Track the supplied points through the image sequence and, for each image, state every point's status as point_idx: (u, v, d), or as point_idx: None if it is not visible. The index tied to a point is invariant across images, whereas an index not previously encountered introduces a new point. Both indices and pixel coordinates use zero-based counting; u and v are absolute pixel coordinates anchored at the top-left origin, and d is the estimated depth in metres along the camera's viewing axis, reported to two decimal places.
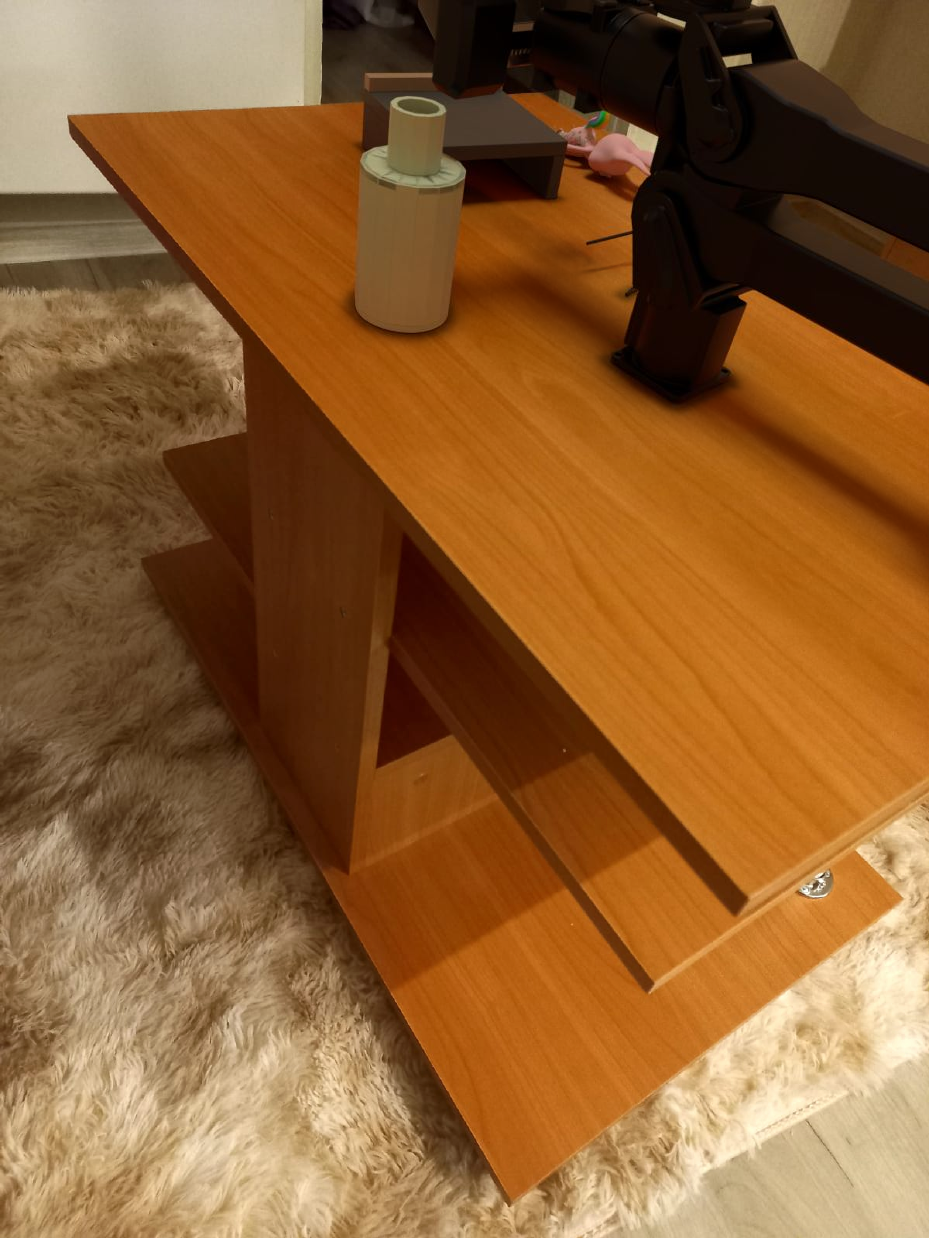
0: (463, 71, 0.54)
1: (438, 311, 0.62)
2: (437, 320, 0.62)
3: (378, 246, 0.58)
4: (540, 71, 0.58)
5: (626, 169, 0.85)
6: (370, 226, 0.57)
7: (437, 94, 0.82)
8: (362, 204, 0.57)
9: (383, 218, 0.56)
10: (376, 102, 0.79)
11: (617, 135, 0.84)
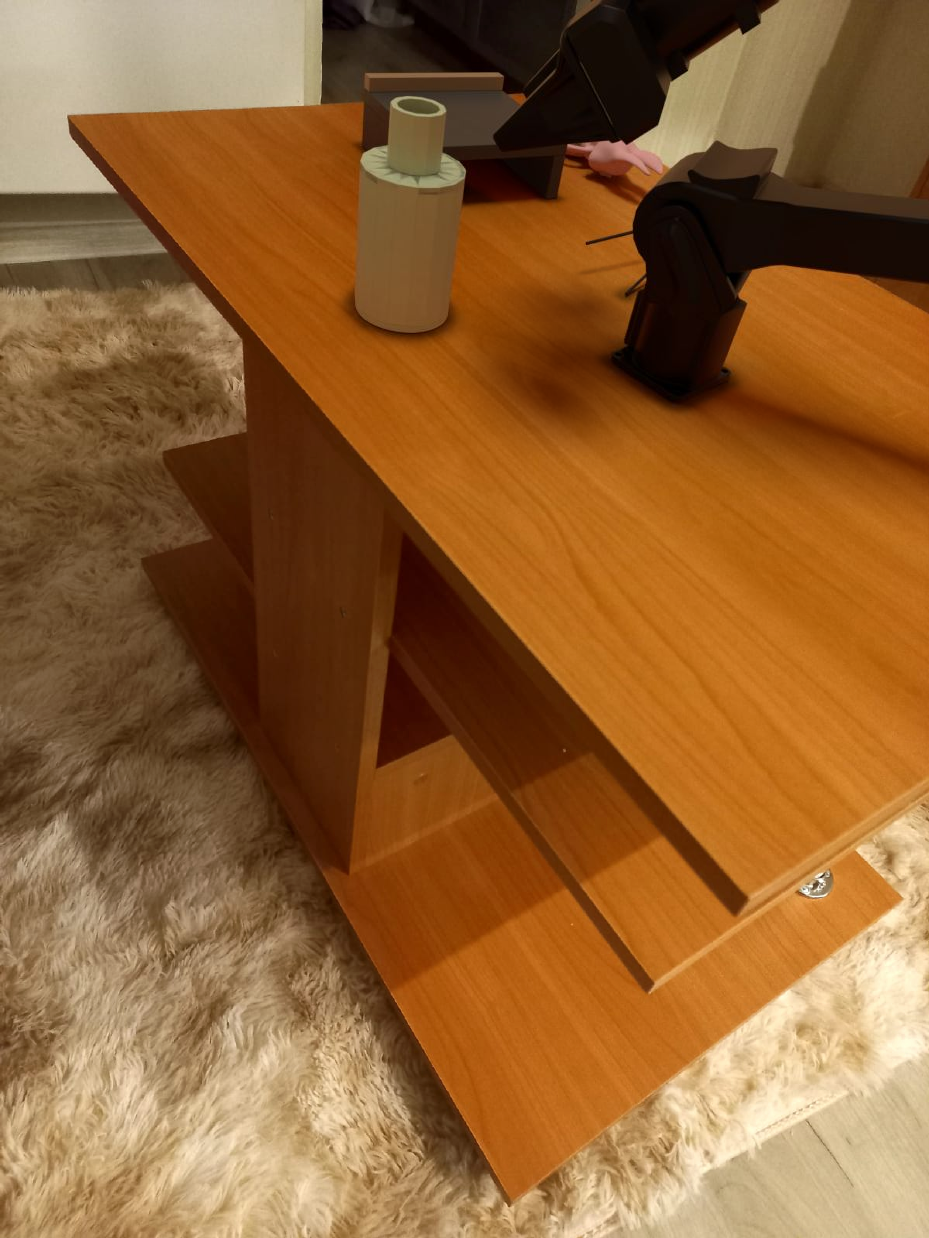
0: (653, 84, 0.43)
1: (438, 311, 0.62)
2: (437, 320, 0.62)
3: (378, 246, 0.58)
4: (673, 54, 0.48)
5: (626, 169, 0.85)
6: (370, 226, 0.57)
7: (437, 94, 0.82)
8: (362, 204, 0.57)
9: (383, 218, 0.56)
10: (376, 102, 0.79)
11: None
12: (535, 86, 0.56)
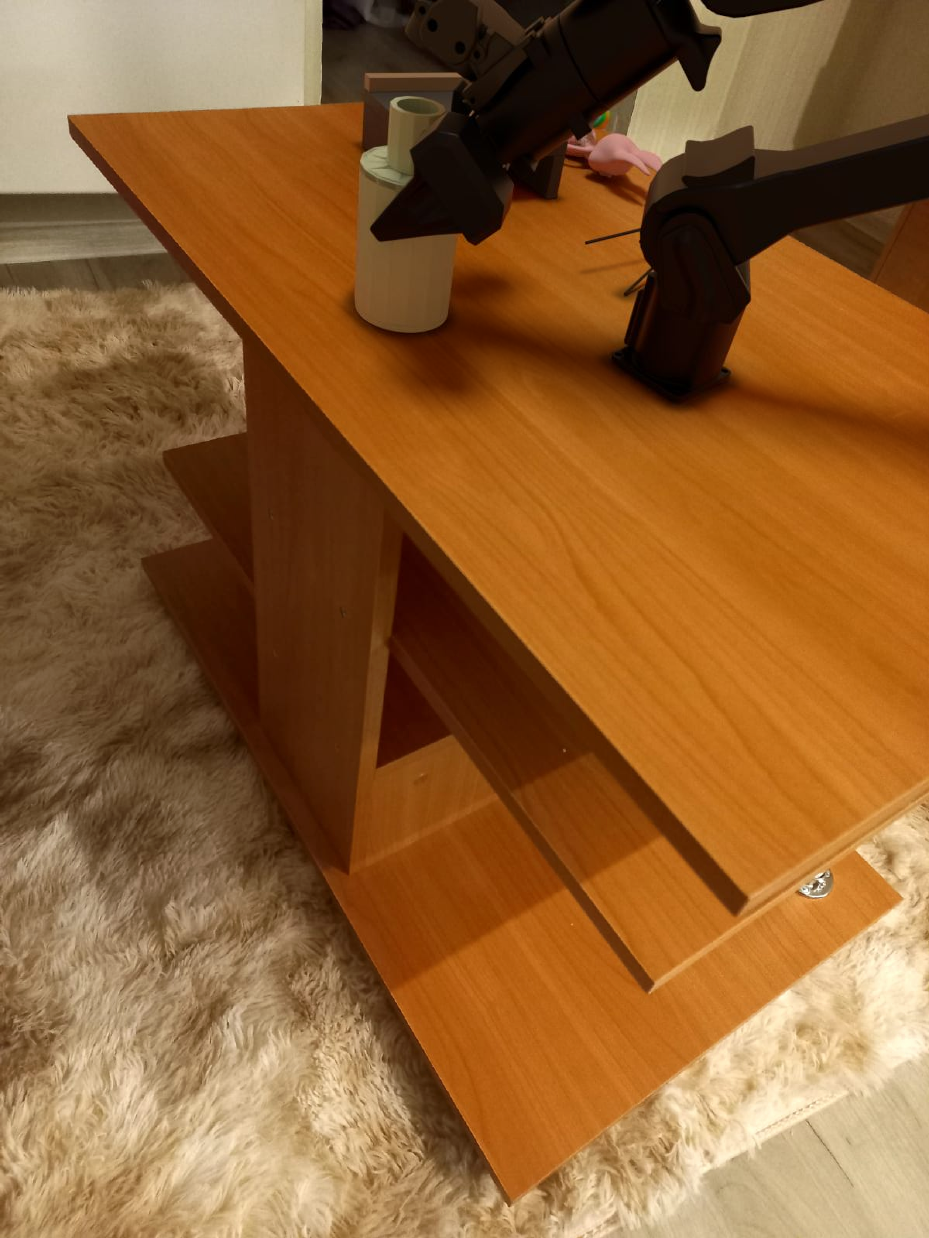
0: (490, 195, 0.48)
1: (438, 311, 0.62)
2: (437, 320, 0.62)
3: (377, 247, 0.58)
4: (519, 158, 0.53)
5: (626, 169, 0.85)
6: None
7: (437, 94, 0.82)
8: (362, 204, 0.57)
9: None
10: (376, 102, 0.79)
11: (617, 135, 0.84)
12: None
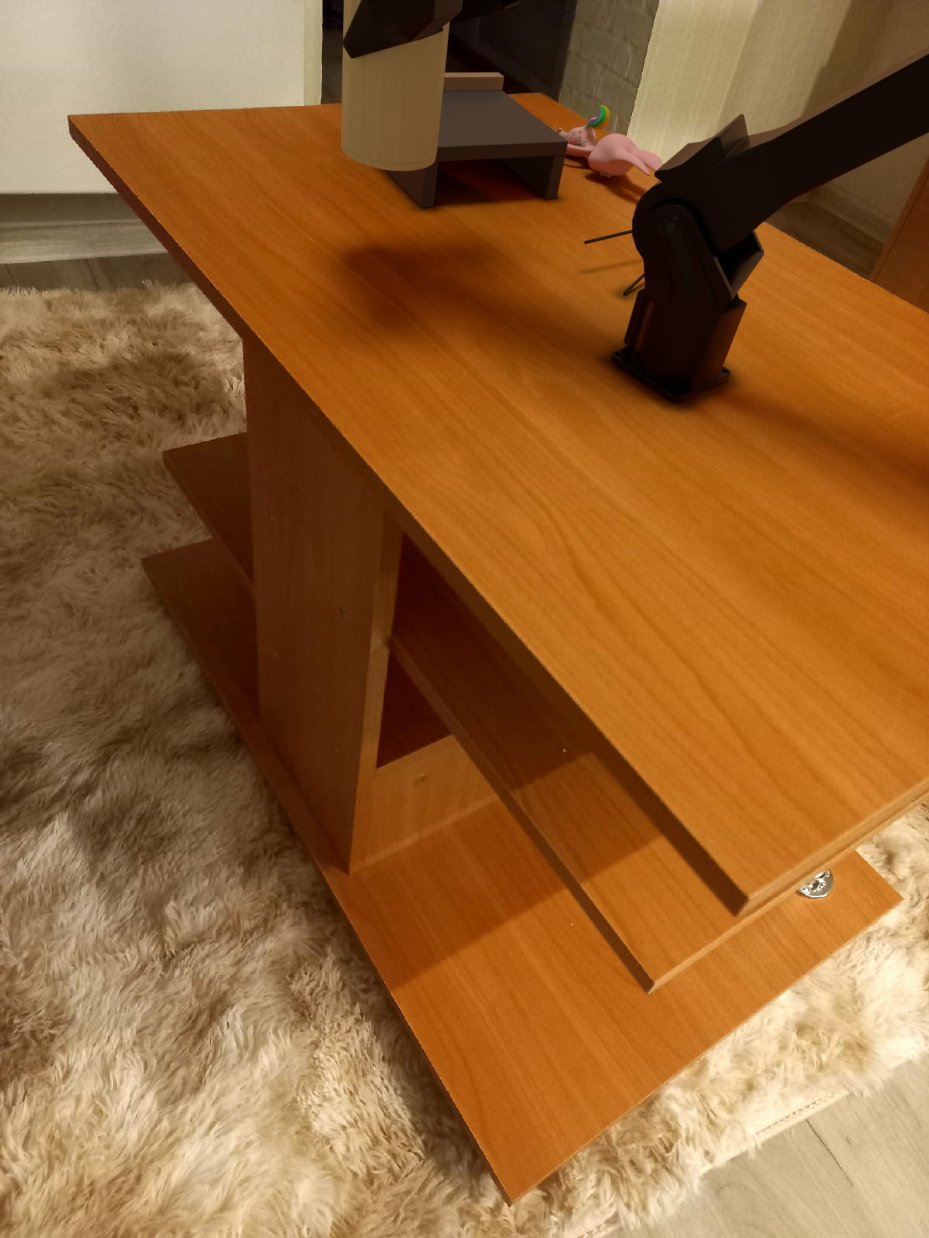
0: None
1: (415, 151, 0.60)
2: (414, 161, 0.60)
3: (352, 67, 0.57)
4: None
5: (626, 169, 0.85)
6: None
7: None
8: (344, 22, 0.56)
9: None
10: None
11: (617, 135, 0.84)
12: None
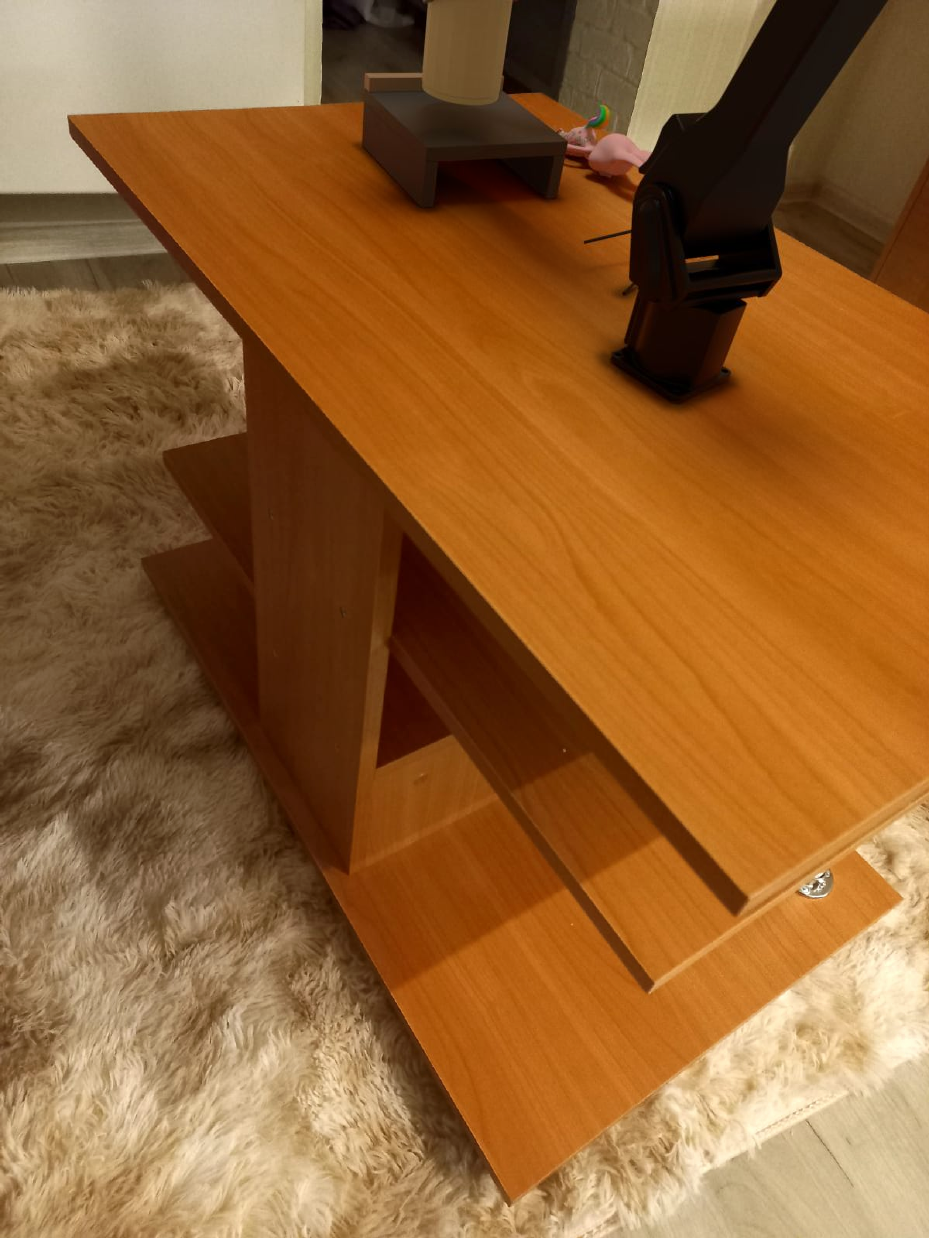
0: None
1: (461, 87, 0.74)
2: (461, 96, 0.74)
3: (428, 11, 0.72)
4: None
5: (626, 169, 0.85)
6: None
7: None
8: None
9: None
10: (376, 102, 0.79)
11: (617, 135, 0.84)
12: None
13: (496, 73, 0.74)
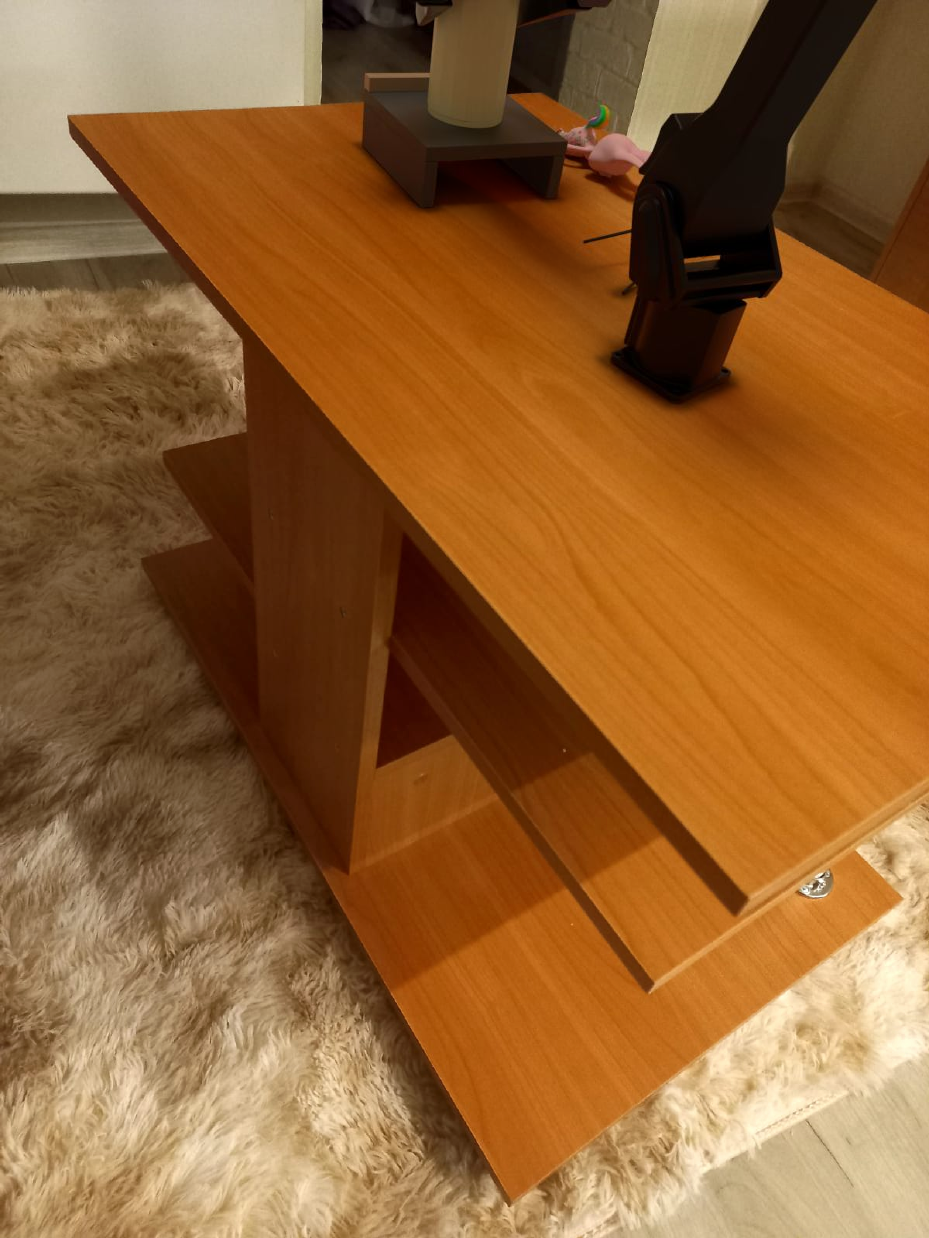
0: None
1: (464, 111, 0.76)
2: (464, 120, 0.76)
3: (433, 37, 0.74)
4: None
5: (626, 169, 0.85)
6: None
7: None
8: None
9: None
10: (376, 102, 0.79)
11: (617, 135, 0.84)
12: None
13: (499, 97, 0.76)
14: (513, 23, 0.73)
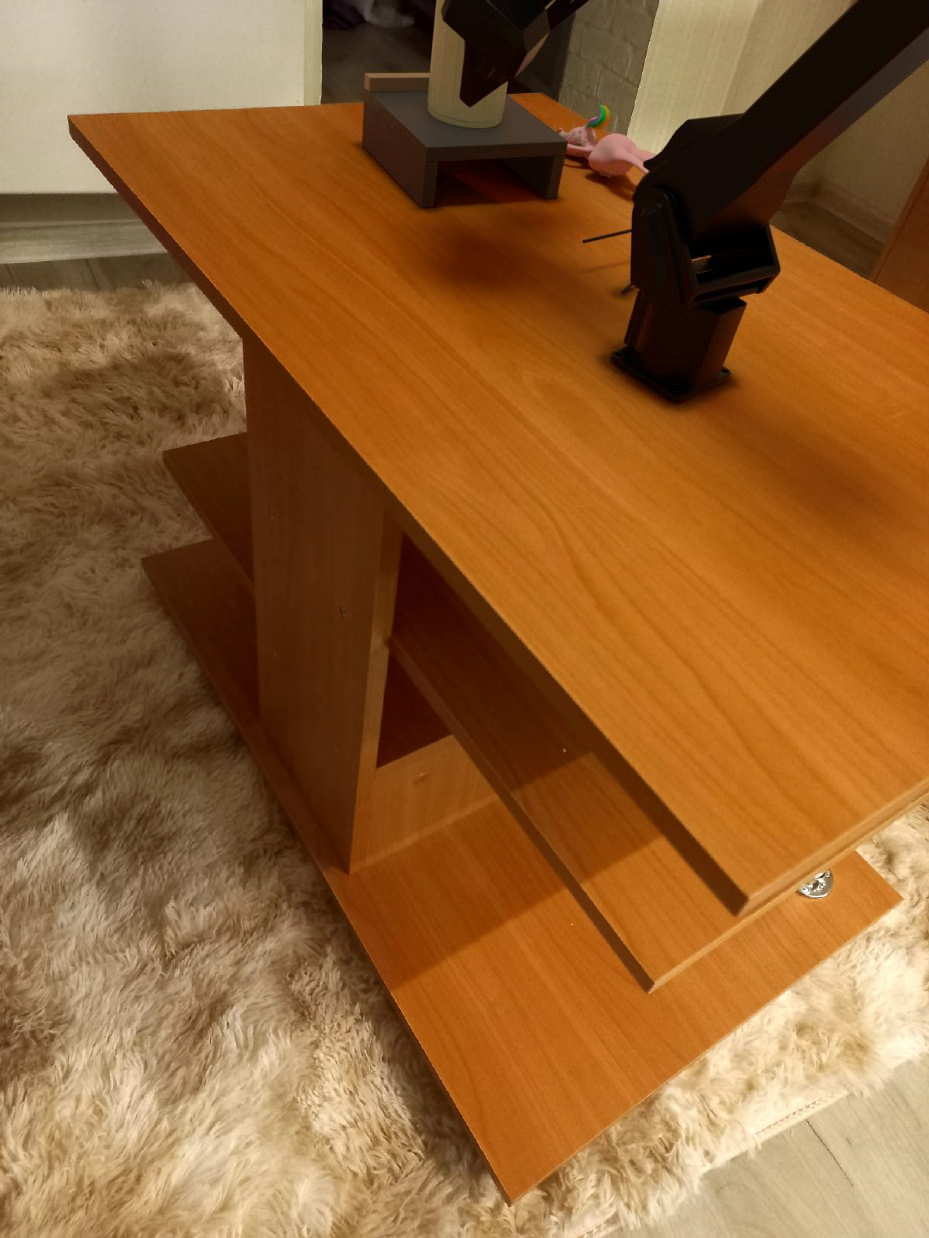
0: (507, 27, 0.55)
1: (464, 111, 0.76)
2: (464, 120, 0.76)
3: (433, 37, 0.74)
4: None
5: (626, 169, 0.85)
6: None
7: None
8: None
9: (436, 11, 0.73)
10: (376, 102, 0.79)
11: (617, 135, 0.84)
12: None
13: (499, 97, 0.76)
14: None
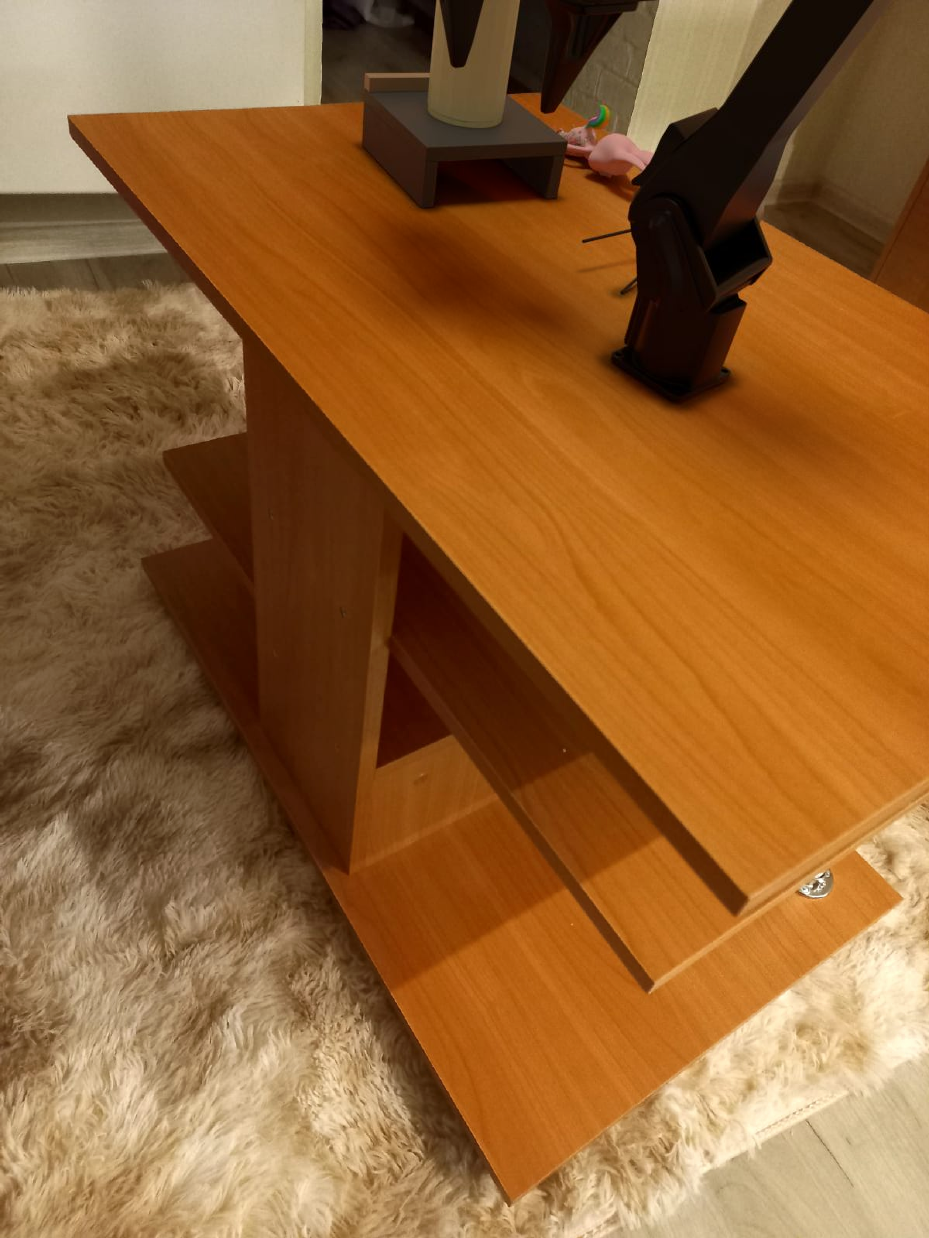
0: None
1: (464, 111, 0.76)
2: (464, 120, 0.76)
3: (433, 37, 0.74)
4: None
5: (626, 169, 0.85)
6: None
7: None
8: None
9: (436, 11, 0.73)
10: (376, 102, 0.79)
11: (617, 135, 0.84)
12: (458, 53, 0.61)
13: (499, 97, 0.76)
14: (513, 23, 0.73)
